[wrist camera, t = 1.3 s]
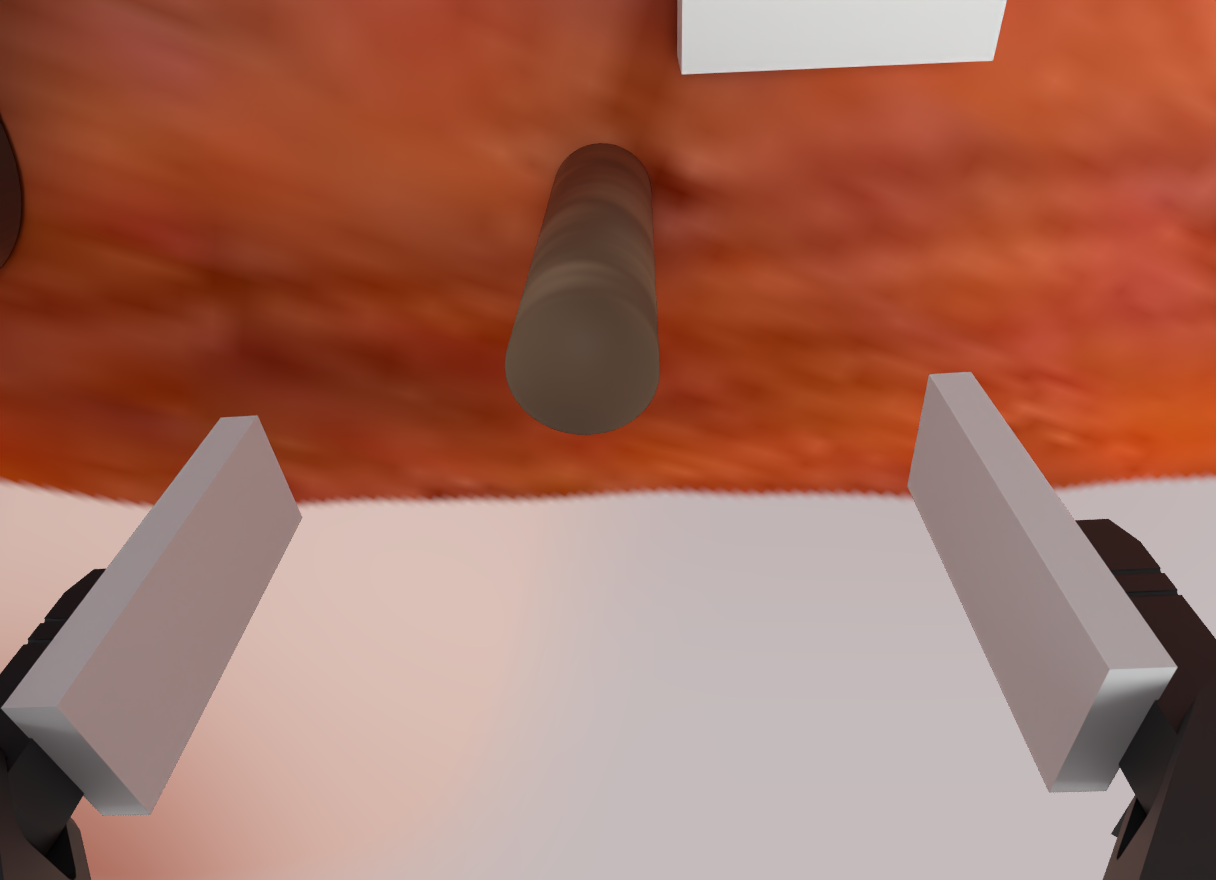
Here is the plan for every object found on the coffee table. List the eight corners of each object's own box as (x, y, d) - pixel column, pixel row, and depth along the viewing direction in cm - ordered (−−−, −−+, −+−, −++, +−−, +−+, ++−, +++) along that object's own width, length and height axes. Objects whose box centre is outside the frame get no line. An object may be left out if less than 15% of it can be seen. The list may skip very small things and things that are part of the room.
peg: (557, 243, 32) (514, 436, 21) (549, 145, 30) (494, 303, 18) (652, 239, 32) (660, 433, 21) (650, 141, 30) (659, 298, 18)
